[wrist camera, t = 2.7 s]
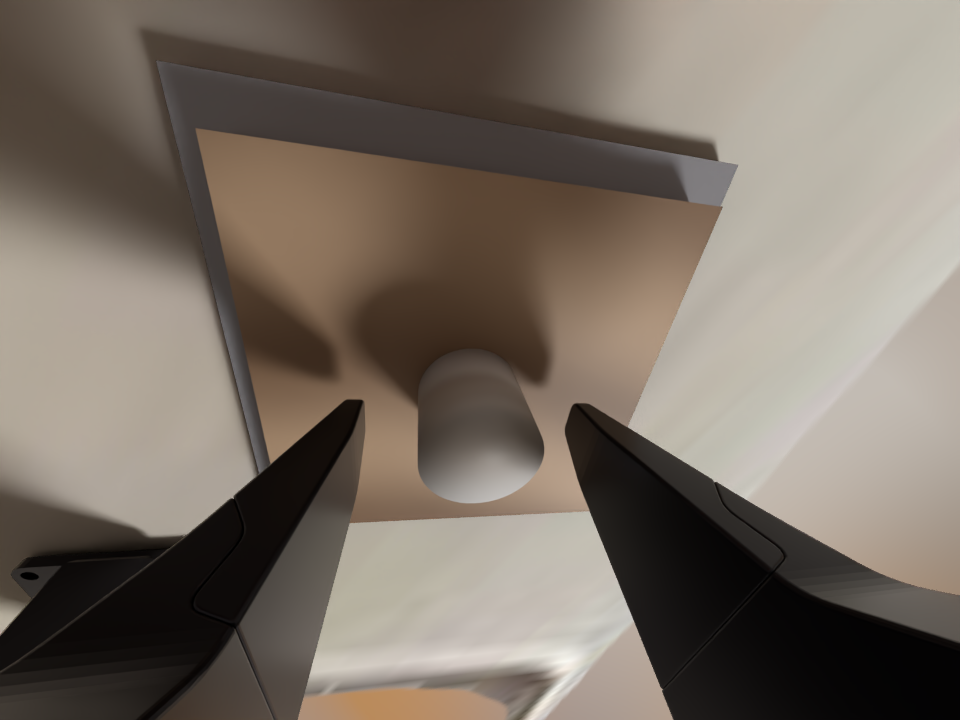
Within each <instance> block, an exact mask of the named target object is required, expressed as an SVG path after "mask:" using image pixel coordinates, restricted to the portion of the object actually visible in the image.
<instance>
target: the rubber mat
mask: <svg viewBox="0 0 960 720" xmlns="http://www.w3.org/2000/svg"><path fill="white" fill-rule="evenodd" d="M156 63H157V67H158V71H159V75H160V79H161V83H162V87H163V91H164V95H165V99H166V103H167V107H168V111H169V115H170V119H171V123H172V127H173V131H174V135H175V139H176V143H177V147H178V151H179V155H180V159H181V163H182V167H183V171H184V175H185V179H186V183H187V187H188V191H189V195H190V199H191V203H192V207H193V211H194V215H195V219H196V223H197V227H198V231H199V235H200V239H201V243H202V247H203V251H204V255H205V259H206V263H207V267H208V271H209V275H210V279H211V283H212V287H213V291H214V295H215V299H216V303H217V307H218V311H219V315H220V319H221V323H222V327H223V331H224V335H225V339H226V343H227V347H228V351H229V355H230V359H231V363H232V367H233V371H234V375H235V379H236V383H237V387H238V391H239V395H240V399H241V403H242V407H243V411H244V415H245V419H246V423H247V427H248V431H249V435H250V439H251V443H252V447H253V451H254V455H255V459H256V463H257V467H258V471H259V474H260V473H261V472H262V471H263V470H264V469H265V468H266V467H268V466H269V465H270V460H269V455H268V451H267V446H266V442H265V437H264V433H263V428H262V424H261V419H260V415H259V411H258V406H257V402H256V397H255V393H254V388H253V384H252V379H251V375H250V370H249V366H248V361H247V357H246V352H245V348H244V343H243V339H242V335H241V330H240V326H239V321H238V317H237V312H236V308H235V303H234V299H233V294H232V290H231V285H230V281H229V276H228V272H227V267H226V263H225V259H224V254H223V250H222V245H221V241H220V236H219V232H218V227H217V223H216V218H215V214H214V209H213V205H212V200H211V196H210V191H209V187H208V183H207V178H206V174H205V169H204V165H203V160H202V156H201V151H200V147H199V142H198V138H197V133H196V129H195V128H198V129H205V130H211V131H218V132H225V133H232V134H238V135H245V136H252V137H258V138H265V139H272V140H278V141H285V142H292V143H298V144H305V145H312V146H318V147H325V148H332V149H339V150H345V151H352V152H359V153H365V154H372V155H379V156H385V157H392V158H399V159H405V160H412V161H419V162H425V163H432V164H439V165H445V166H452V167H459V168H466V169H472V170H479V171H486V172H492V173H499V174H506V175H512V176H519V177H526V178H532V179H539V180H546V181H552V182H559V183H566V184H572V185H579V186H586V187H593V188H599V189H606V190H613V191H619V192H626V193H633V194H639V195H646V196H653V197H659V198H666V199H673V200H679V201H686V202H693V203H699V204H706V205H713V206H719V207H720V206H721V204H722V202H723V199H724V197H725V195H726V192H727V190H728V188H729V185H730V183H731V181H732V178H733V176H734V174H735V171H736V169H737V167H738V165H736V164H730V163H725V162H719V161H713V160H708V159H702V158H697V157H691V156H686V155H680V154H675V153H669V152H663V151H658V150H652V149H647V148H641V147H636V146H630V145H624V144H619V143H613V142H608V141H602V140H597V139H591V138H585V137H580V136H574V135H569V134H563V133H558V132H552V131H546V130H541V129H535V128H530V127H524V126H519V125H513V124H507V123H502V122H496V121H491V120H485V119H480V118H474V117H468V116H463V115H457V114H452V113H446V112H441V111H435V110H429V109H424V108H418V107H413V106H407V105H402V104H396V103H391V102H385V101H379V100H374V99H368V98H363V97H357V96H352V95H346V94H340V93H335V92H329V91H324V90H318V89H313V88H307V87H301V86H296V85H290V84H285V83H279V82H274V81H268V80H262V79H257V78H251V77H246V76H240V75H235V74H229V73H223V72H218V71H212V70H207V69H201V68H196V67H190V66H184V65H179V64H173V63H168V62H162V61H157V60H156Z"/></svg>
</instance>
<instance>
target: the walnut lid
mask: <svg viewBox="0 0 960 720" xmlns="http://www.w3.org/2000/svg"><path fill="white" fill-rule="evenodd" d="M195 129H196V133H197V138H198V142H199V147H200V151H201V156H202V160H203V165H204V169H205V174H206V178H207V183H208V187H209V191H210V196H211V200H212V205H213V209H214V214H215V218H216V223H217V227H218V232H219V236H220V241H221V245H222V250H223V254H224V259H225V263H226V267H227V272H228V276H229V281H230V285H231V290H232V294H233V299H234V303H235V308H236V312H237V317H238V321H239V326H240V330H241V335H242V339H243V343H244V348H245V352H246V357H247V361H248V366H249V370H250V375H251V379H252V384H253V388H254V393H255V397H256V402H257V406H258V411H259V415H260V419H261V424H262V428H263V433H264V437H265V442H266V446H267V451H268V455H269V460H270V464H271V463H272V462H273V461H275V460H276V459H277V458H278V457H279V456H280V455H282V454H283V453H284V452H285V451H286V450H287V449H289V448H290V447H291V446H292V445H293V444H294V443H296V442H297V441H298V440H299V439H300V438H301V437H303V436H304V435H305V434H306V433H307V432H308V431H310V430H311V429H312V428H313V427H314V426H315V425H316V424H318V423H319V422H320V421H321V420H322V419H323V418H325V417H326V416H327V415H328V414H329V413H330V412H332V411H333V410H334V409H335V408H336V407H337V406H339V405H340V404H341V403H342V402H343V401H344V400H346V399H362V400H363V401H364V404H365V439H364V447H363V454H362V462H361V470H360V477H359V484H358V490H357V495H356V500H355V504H354V508H353V511H352V515H351V519H350V523H359V522H379V521H399V520H420V519H440V518H460V517H480V516H501V515H521V514H541V513H562V512H582V511H589V508H588V506H587V503H586V501H585V498H584V496H583V493H582V491H581V488H580V485H579V482H578V479H577V476H576V472H575V469H574V465H573V462H572V458H571V455H570V451H569V448H568V444H567V441H566V437H565V425H566V422H567V419H568V416H569V412H570V409H571V407H572V405H573V404H575V403H588V404H590V405H592V406H594V407H595V408H597V409H599V410H600V411H602V412H603V413H605V414H607V415H608V416H610V417H612V418H613V419H615V420H616V421H618V422H620V423H621V424H623V425H625V426H626V427H628V424H629V422H630V420H631V417H632V415H633V413H634V411H635V408H636V406H637V404H638V401H639V399H640V397H641V394H642V392H643V390H644V387H645V385H646V383H647V381H648V378H649V376H650V374H651V371H652V369H653V367H654V364H655V362H656V360H657V357H658V355H659V353H660V350H661V348H662V346H663V344H664V341H665V339H666V337H667V334H668V332H669V330H670V327H671V325H672V323H673V320H674V318H675V316H676V314H677V311H678V309H679V307H680V304H681V302H682V300H683V297H684V295H685V293H686V290H687V288H688V286H689V283H690V281H691V279H692V277H693V274H694V272H695V270H696V267H697V265H698V263H699V260H700V258H701V256H702V253H703V251H704V249H705V247H706V244H707V242H708V240H709V237H710V235H711V233H712V230H713V228H714V226H715V223H716V221H717V219H718V216H719V214H720V212H721V210H722V207H719V206H713V205H706V204H699V203H693V202H686V201H679V200H673V199H666V198H659V197H653V196H646V195H639V194H633V193H626V192H619V191H613V190H606V189H599V188H593V187H586V186H579V185H572V184H566V183H559V182H552V181H546V180H539V179H532V178H526V177H519V176H512V175H506V174H499V173H492V172H486V171H479V170H472V169H466V168H459V167H452V166H445V165H439V164H432V163H425V162H419V161H412V160H405V159H399V158H392V157H385V156H379V155H372V154H365V153H359V152H352V151H345V150H339V149H332V148H325V147H318V146H312V145H305V144H298V143H292V142H285V141H278V140H272V139H265V138H258V137H252V136H245V135H238V134H232V133H225V132H218V131H211V130H205V129H198V128H195Z"/></svg>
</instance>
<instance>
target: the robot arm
mask: <svg viewBox="0 0 960 720" xmlns="http://www.w3.org/2000/svg"><path fill="white" fill-rule="evenodd" d="M565 437H566V441H567V444H568V448H569V451H570V455H571V458H572V462H573V465H574V469H575V472H576V476H577V479H578V482H579V485H580V488H581V491H582V493H583V496H584V498H585V501H586V503H587V506H588V508H589V511H590V513H591V516H592V518H593V521H594V523H595V526H596V528H597V531H598V533H599V536H600V538H601V541H602V543H603V546H604V548H605V550H606V553H607V555H608V558H609V560H610V563H611V565H612V568H613V570H614V573H615V575H616V578H617V580H618V583H619V585H620V588H621V590H622V593H623V595H624V598H625V600H626V603H627V605H628V607H629V610H630V612H631V615H632V617H633V620H634V622H635V625H636V627H637V629H638V632H639V635H640V637H641V640H642V642H643V644H644V647H645V650H646V652H647V655H648V657H649V659H650V662H651V664H652V667H653V669H654V672H655V674H656V677H657V679H658V682H659V684H660V687H661V688H662V689H663V690H662V692H663V695H664V697H665V700H666V702H667V705H668V707H669V710H670V712H671V714H672V717H673V720H960V595H955V594H950V593H945V592H940V591H935V590H930V589H926V588H922V587H917V586H914V585H911V584H907V583H904V582H901V581H898V580H895V579H892V578H890V577H887V576H885V575H882V574H880V573H878V572H875V571H873V570H871V569H869V568H867V567H865V566H864V565H862V564H860V563H857V562H856V561H854V560H852V559H850V558H849V557H847V556H845V555H843V554H841V553H840V552H838V551H836V550H834V549H833V548H831V547H829V546H827V545H825V544H823V543H822V542H820V541H818V540H816V539H814V538H813V537H811V536H809V535H807V534H805V533H804V532H802V531H800V530H798V529H796V528H794V527H793V526H791V525H789V524H787V523H785V522H784V521H782V520H780V519H778V518H777V517H775V516H773V515H771V514H770V513H768V512H766V511H764V510H762V509H761V508H759V507H757V506H755V505H754V504H752V503H750V502H749V501H747V500H745V499H744V498H742V497H740V496H739V495H737V494H735V493H734V492H732V491H730V490H729V489H727V488H726V487H724V486H722V485H721V484H719V483H718V482H714V481H713V480H712V479H711V478H709V477H708V476H706V475H704V474H703V473H701V472H699V471H698V470H696V469H695V468H693V467H691V466H690V465H688V464H686V463H685V462H683V461H682V460H680V459H678V458H677V457H675V456H673V455H672V454H670V453H668V452H667V451H665V450H664V449H662V448H660V447H659V446H657V445H655V444H654V443H652V442H651V441H649V440H647V439H646V438H644V437H642V436H641V435H639V434H638V433H636V432H634V431H633V430H631V429H629V428H628V427H626V426H625V425H623V424H621V423H620V422H618V421H616V420H615V419H613V418H612V417H610V416H608V415H607V414H605V413H603V412H602V411H600V410H599V409H597V408H595V407H594V406H592V405H590V404H588V403H575V404H573V405H572V407H571V409H570V412H569V416H568V419H567V422H566V425H565ZM364 439H365V404H364V401H363V400H362V399H346V400H344V401H343V402H342V403H341V404H340V405H339V406H337V407H336V408H335V409H334V410H333V411H332V412H330V413H329V414H328V415H327V416H326V417H325V418H323V419H322V420H321V421H320V422H319V423H318V424H316V425H315V426H314V427H313V428H312V429H311V430H310V431H308V432H307V433H306V434H305V435H304V436H303V437H301V438H300V439H299V440H298V441H297V442H296V443H294V444H293V445H292V446H291V447H290V448H289V449H287V450H286V451H285V452H284V453H283V454H282V455H280V456H279V457H278V458H277V459H276V460H275V461H273V462H272V463H271V464H270V465H269V466H268V467H266V468H265V469H264V470H263V471H262V472H261V473H260V474H258V475H257V476H256V477H255V478H254V479H253V480H251V481H250V482H249V483H248V484H247V485H246V486H244V487H243V488H242V489H241V490H240V491H239V492H237V493H236V494H235V495H234V499H233V498H231V499H229V500H228V501H227V502H226V503H224V504H223V505H222V506H221V507H220V508H219V509H217V510H216V511H215V512H214V513H213V514H212V515H210V516H209V517H208V518H207V519H205V520H204V521H203V522H202V523H201V524H199V525H198V526H197V527H196V528H195V529H193V530H192V531H191V532H190V533H188V534H187V535H186V536H185V537H184V538H182V539H181V540H180V541H178V542H177V543H176V544H174V545H173V546H172V547H171V548H169V549H162V550H145V551H127V552H110V553H93V554H75V555H58V556H41V557H30V558H26V559H24V560H23V561H22V562H21V563H20V564H19V565H18V566H17V567H16V568H15V569H14V570H13V571H12V573H11V576H12V578H13V579H14V580H15V581H16V582H17V583H18V584H19V585H20V586H21V587H22V588H23V589H24V591H25V592H26V593H27V594H28V595H29V596H30V597H31V598H32V599H31V600H30V601H29V603H28V604H27V605H26V606H25V607H24V608H23V609H22V611H21V612H20V613H19V614H18V615H17V616H16V617H15V618H14V620H13V621H12V622H11V623H10V624H9V625H8V626H7V627H6V629H5V630H4V631H3V632H2V633H1V634H0V720H298V716H299V712H300V708H301V704H302V701H303V697H304V693H305V689H306V686H307V682H308V678H309V674H310V670H311V667H312V663H313V659H314V655H315V651H316V648H317V644H318V640H319V636H320V633H321V629H322V625H323V621H324V617H325V614H326V610H327V606H328V602H329V598H330V595H331V591H332V587H333V583H334V580H335V576H336V572H337V568H338V564H339V561H340V557H341V553H342V549H343V545H344V542H345V538H346V534H347V530H348V526H349V523H350V519H351V515H352V511H353V508H354V504H355V500H356V495H357V490H358V484H359V477H360V470H361V462H362V454H363V447H364Z"/></svg>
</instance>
